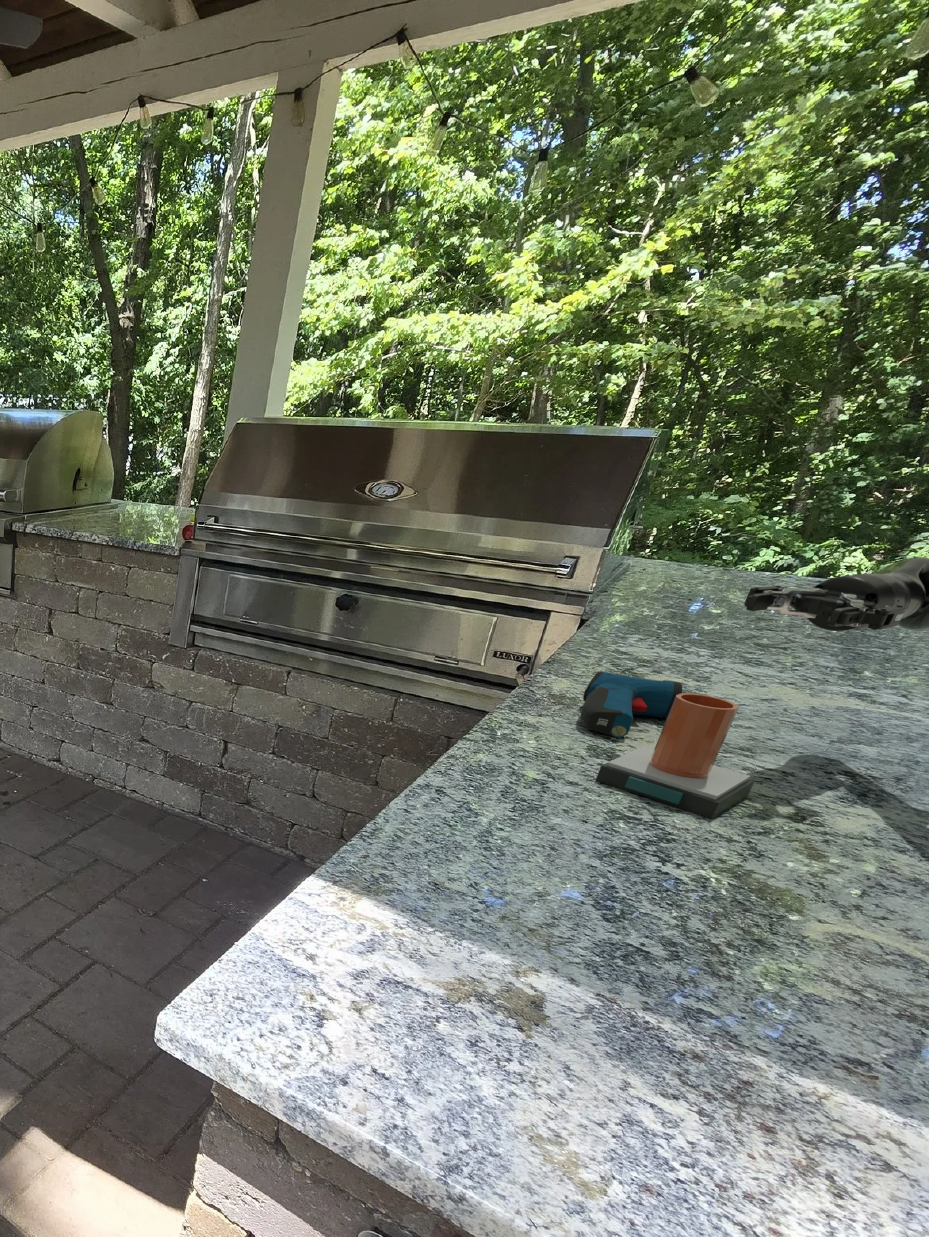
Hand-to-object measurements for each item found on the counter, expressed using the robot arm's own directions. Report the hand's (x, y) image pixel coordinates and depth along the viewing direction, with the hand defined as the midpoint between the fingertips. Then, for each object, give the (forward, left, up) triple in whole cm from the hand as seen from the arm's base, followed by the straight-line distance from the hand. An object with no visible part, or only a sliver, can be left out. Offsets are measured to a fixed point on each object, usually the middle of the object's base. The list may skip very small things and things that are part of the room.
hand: (791, 610), depth 106 cm
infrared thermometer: (+16, -14, -25) cm, 33 cm away
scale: (+2, +11, -25) cm, 27 cm away
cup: (+2, +11, -22) cm, 24 cm away
